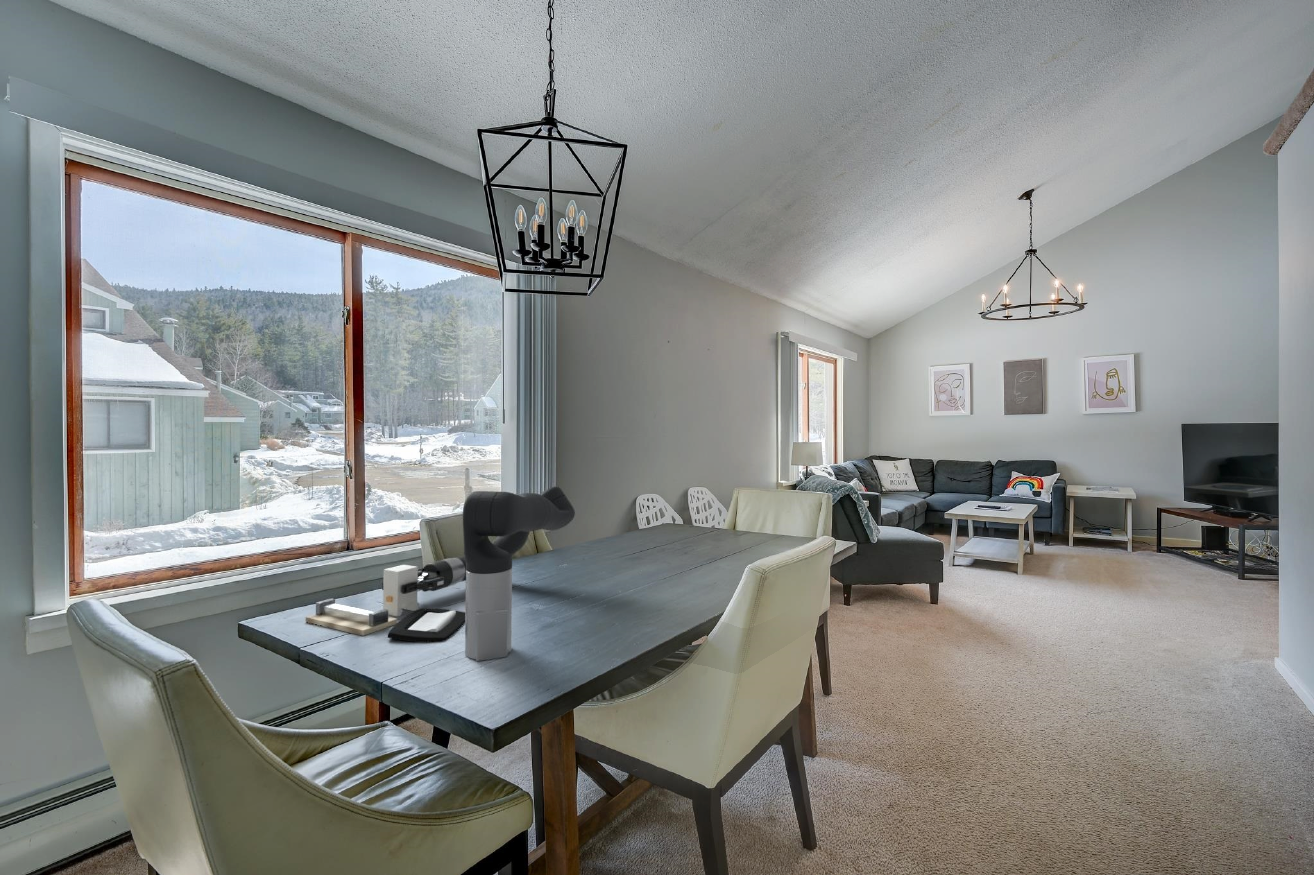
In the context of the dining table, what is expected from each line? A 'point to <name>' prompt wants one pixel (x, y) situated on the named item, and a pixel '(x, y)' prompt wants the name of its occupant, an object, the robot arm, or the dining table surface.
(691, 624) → the dining table surface
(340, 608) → the rail
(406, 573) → the block
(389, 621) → the mounting board
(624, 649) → the dining table surface
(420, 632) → the light switch
